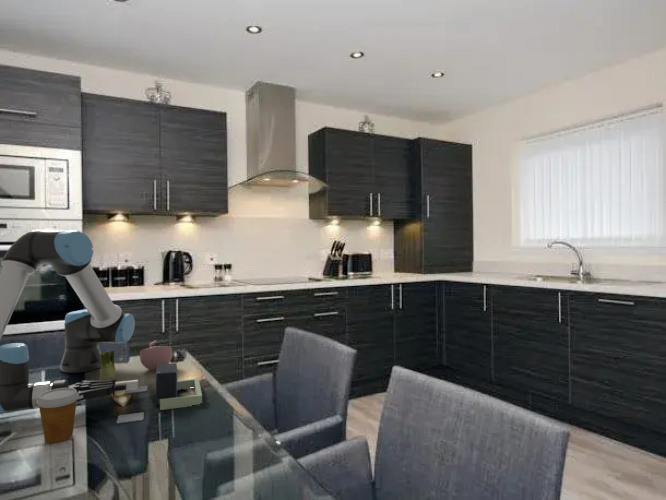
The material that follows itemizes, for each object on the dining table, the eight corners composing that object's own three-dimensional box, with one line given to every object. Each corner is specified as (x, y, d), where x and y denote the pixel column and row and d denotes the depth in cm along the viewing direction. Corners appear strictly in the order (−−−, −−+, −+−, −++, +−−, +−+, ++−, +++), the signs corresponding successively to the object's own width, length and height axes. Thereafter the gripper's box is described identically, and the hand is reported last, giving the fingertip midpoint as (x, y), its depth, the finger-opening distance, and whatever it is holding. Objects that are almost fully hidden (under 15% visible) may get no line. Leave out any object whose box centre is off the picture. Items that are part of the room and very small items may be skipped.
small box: (177, 403, 141) (177, 371, 141) (155, 406, 139) (155, 373, 139) (177, 392, 151) (177, 362, 151) (157, 394, 149) (157, 363, 149)
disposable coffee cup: (87, 432, 120) (87, 389, 120) (55, 449, 111) (54, 402, 111) (61, 427, 123) (61, 385, 123) (28, 442, 114) (27, 397, 114)
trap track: (125, 388, 154) (125, 380, 154) (197, 380, 162) (197, 372, 162) (116, 424, 126) (116, 413, 126) (203, 412, 134) (203, 402, 134)
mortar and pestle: (169, 363, 183) (168, 336, 183) (175, 371, 173) (175, 342, 173) (137, 368, 177) (137, 339, 177) (142, 376, 167) (142, 346, 166)
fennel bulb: (113, 380, 162) (113, 348, 161) (118, 384, 158) (118, 351, 158) (96, 384, 158) (96, 351, 157) (101, 388, 154) (100, 354, 154)
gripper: (57, 398, 139) (139, 389, 147) (47, 414, 126) (137, 403, 135) (56, 374, 138) (138, 367, 147) (46, 388, 126) (136, 379, 135)
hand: (137, 384), depth 141 cm, fingers closed
